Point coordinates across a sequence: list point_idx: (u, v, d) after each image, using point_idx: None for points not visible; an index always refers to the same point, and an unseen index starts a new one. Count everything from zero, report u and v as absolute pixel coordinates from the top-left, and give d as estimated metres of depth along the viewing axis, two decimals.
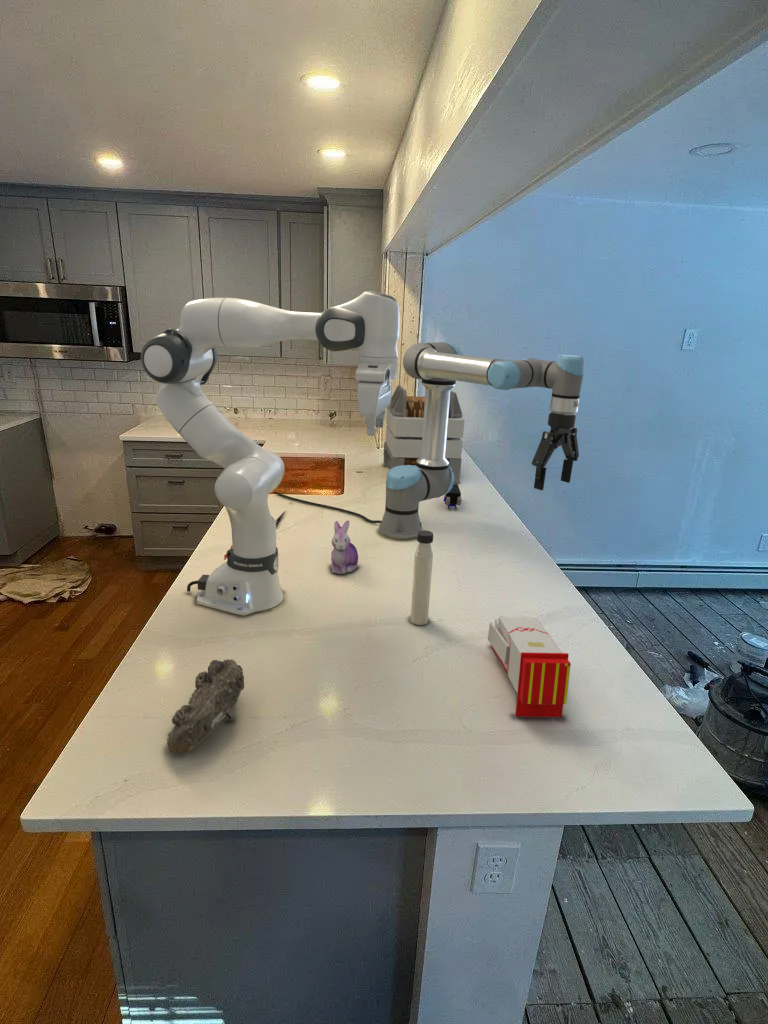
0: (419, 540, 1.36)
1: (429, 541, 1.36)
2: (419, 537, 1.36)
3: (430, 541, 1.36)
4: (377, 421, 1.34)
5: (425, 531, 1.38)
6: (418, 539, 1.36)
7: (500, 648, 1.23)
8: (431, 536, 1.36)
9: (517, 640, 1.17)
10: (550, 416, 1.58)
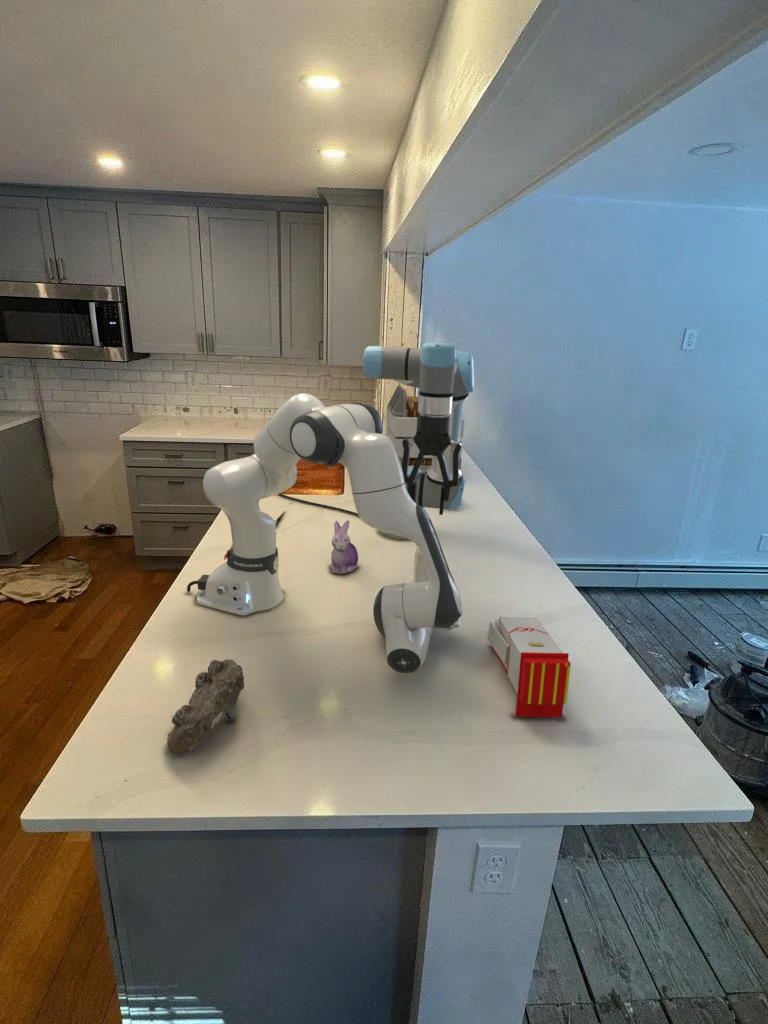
0: None
1: None
2: None
3: None
4: None
5: None
6: None
7: (500, 648, 1.23)
8: None
9: (517, 640, 1.17)
10: (447, 422, 1.25)
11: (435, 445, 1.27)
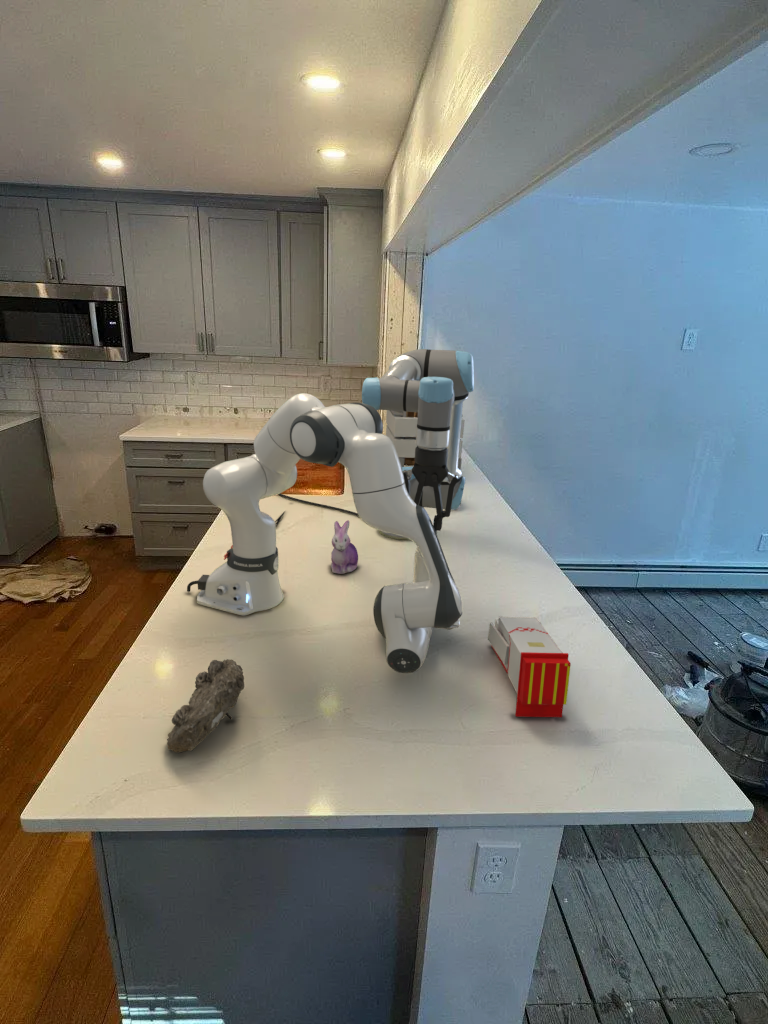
0: None
1: None
2: None
3: None
4: None
5: None
6: None
7: (500, 648, 1.23)
8: None
9: (517, 640, 1.17)
10: (445, 454, 1.28)
11: (433, 477, 1.30)
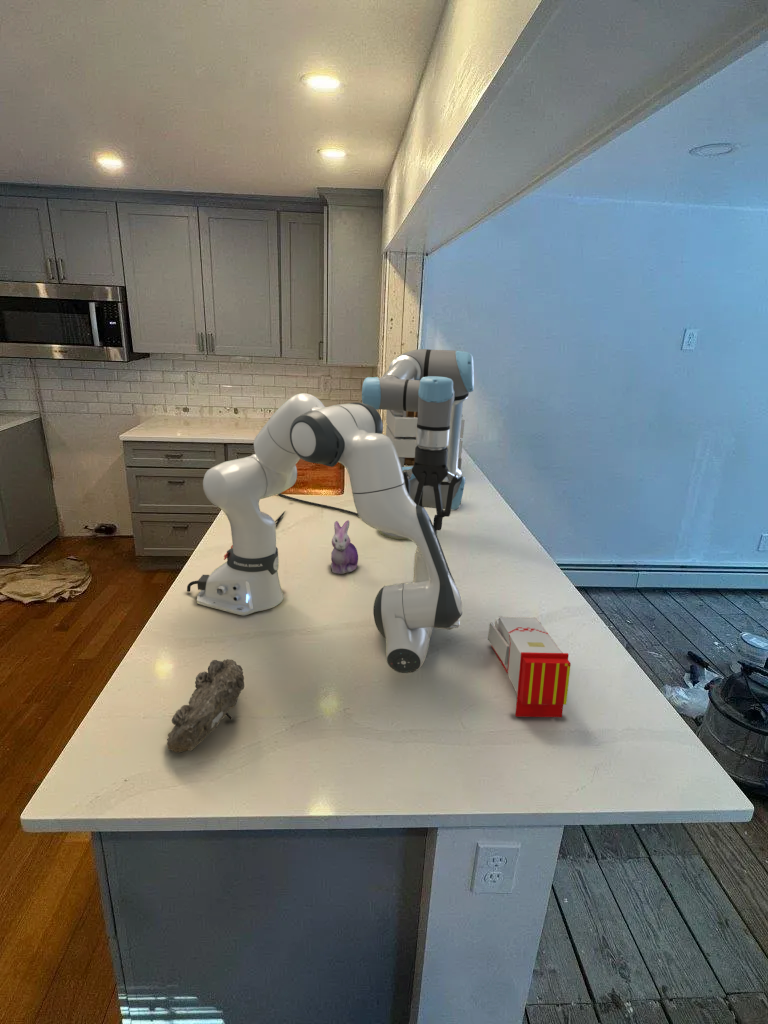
0: None
1: None
2: None
3: None
4: None
5: None
6: None
7: (500, 648, 1.23)
8: None
9: (517, 640, 1.17)
10: (445, 454, 1.28)
11: (433, 476, 1.30)
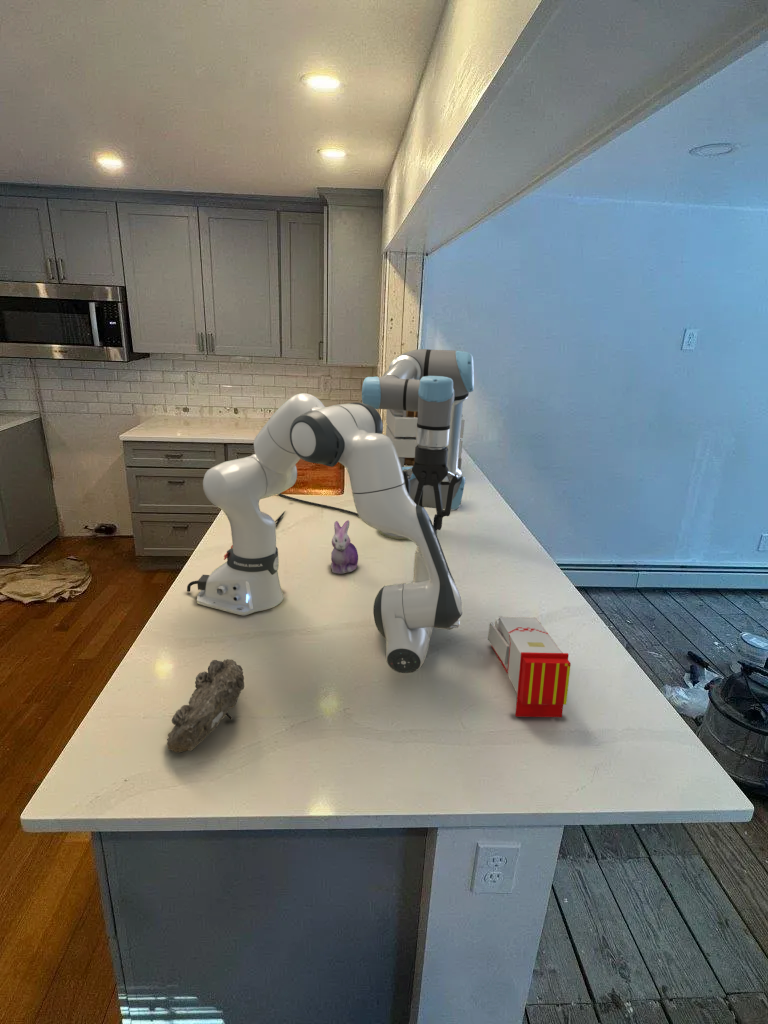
0: None
1: None
2: None
3: None
4: None
5: None
6: None
7: (500, 648, 1.23)
8: None
9: (517, 640, 1.17)
10: (445, 453, 1.28)
11: (433, 476, 1.30)
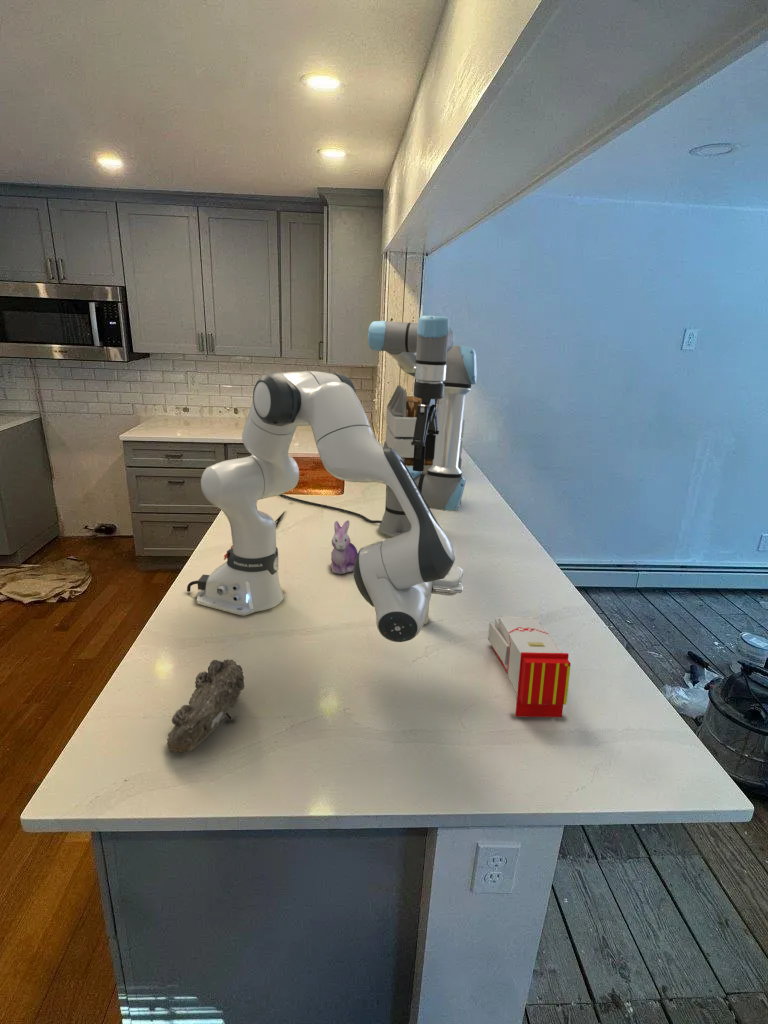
0: None
1: None
2: None
3: None
4: None
5: None
6: None
7: (500, 648, 1.23)
8: None
9: (517, 640, 1.17)
10: None
11: (436, 408, 1.43)
